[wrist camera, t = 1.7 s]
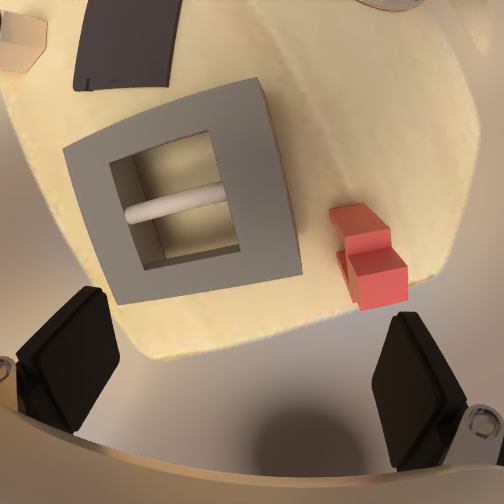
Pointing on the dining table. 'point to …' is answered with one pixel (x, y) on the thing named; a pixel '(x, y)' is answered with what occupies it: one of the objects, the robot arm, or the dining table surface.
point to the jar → (20, 41)
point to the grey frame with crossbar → (188, 197)
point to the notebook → (126, 44)
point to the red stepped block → (369, 258)
